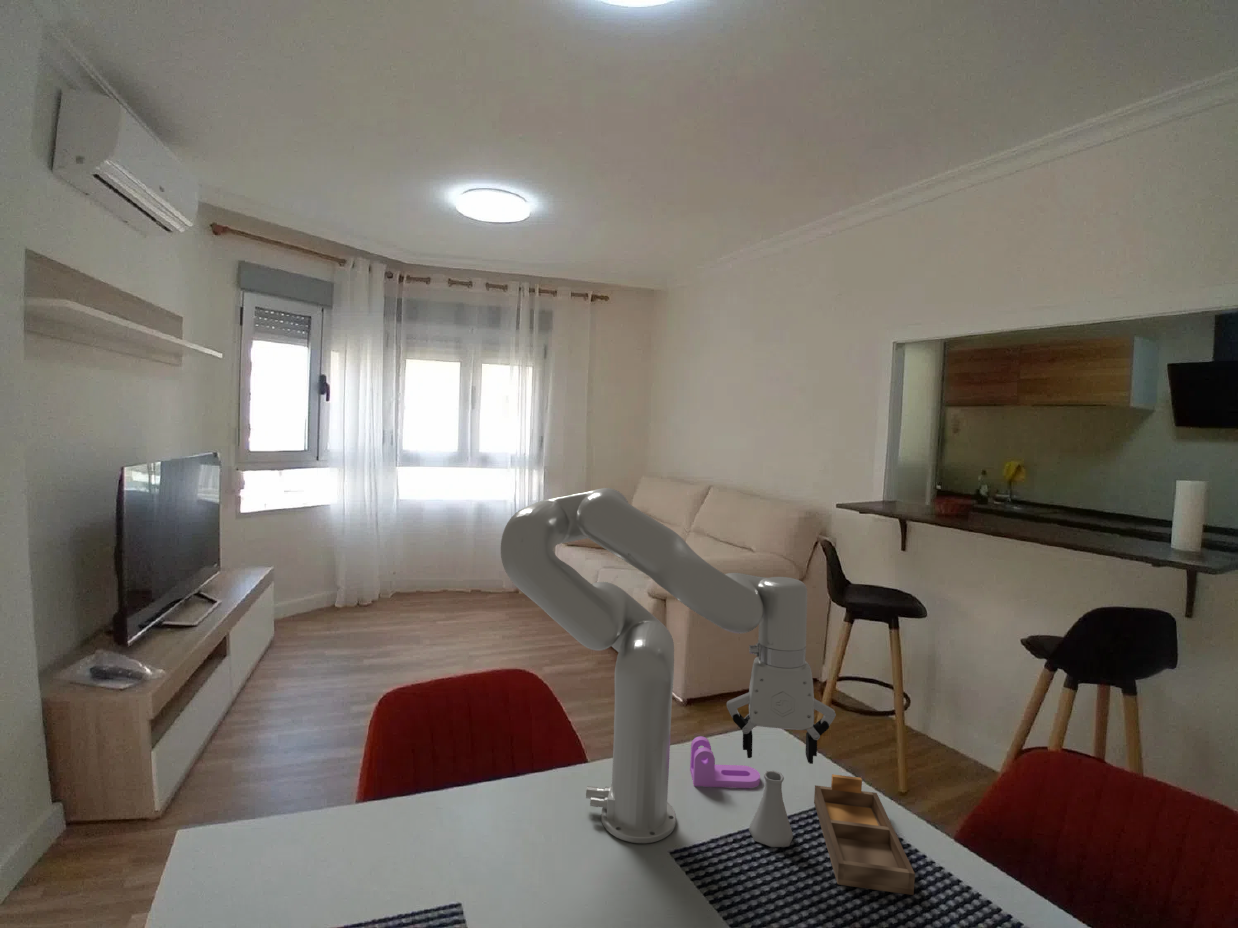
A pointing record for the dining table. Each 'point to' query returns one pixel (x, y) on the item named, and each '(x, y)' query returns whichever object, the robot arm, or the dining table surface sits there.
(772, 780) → the flask
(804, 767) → the dining table surface
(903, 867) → the divided wooden tray
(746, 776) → the bracket
